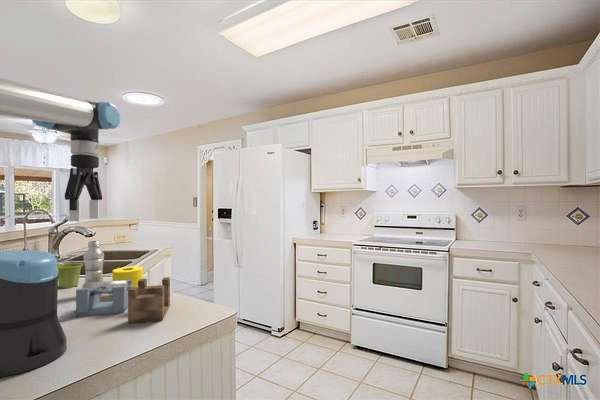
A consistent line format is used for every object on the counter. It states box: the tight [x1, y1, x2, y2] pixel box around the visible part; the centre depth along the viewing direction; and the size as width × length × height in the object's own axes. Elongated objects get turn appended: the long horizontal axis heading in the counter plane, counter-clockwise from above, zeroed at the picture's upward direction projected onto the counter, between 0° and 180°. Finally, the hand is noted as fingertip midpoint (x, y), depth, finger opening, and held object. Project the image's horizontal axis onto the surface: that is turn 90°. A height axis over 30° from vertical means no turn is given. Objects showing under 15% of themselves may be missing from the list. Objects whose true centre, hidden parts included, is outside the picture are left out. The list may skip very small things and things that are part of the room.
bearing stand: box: [127, 276, 171, 325], centre depth 93 cm, size 9×13×10 cm
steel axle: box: [81, 280, 129, 296], centre depth 97 cm, size 12×4×4 cm, turn 104°
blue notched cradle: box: [75, 280, 132, 317], centre depth 97 cm, size 9×13×8 cm
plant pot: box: [57, 262, 84, 289], centre depth 124 cm, size 9×9×9 cm
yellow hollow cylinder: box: [112, 265, 144, 287], centre depth 113 cm, size 10×10×9 cm
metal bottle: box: [83, 240, 105, 283], centre depth 112 cm, size 6×7×20 cm
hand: (85, 219), depth 99 cm, fingers open, 13 cm apart
